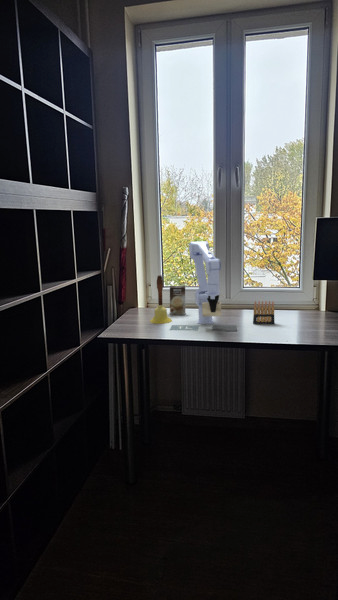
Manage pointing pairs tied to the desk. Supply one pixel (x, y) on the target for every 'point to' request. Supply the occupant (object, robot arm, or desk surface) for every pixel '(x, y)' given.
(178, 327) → the blue-grey flat slab
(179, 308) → the coffee box
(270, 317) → the ammunition clip
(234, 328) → the rubber mat
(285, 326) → the desk surface
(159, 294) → the handbell
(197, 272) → the robot arm
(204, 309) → the maple block
